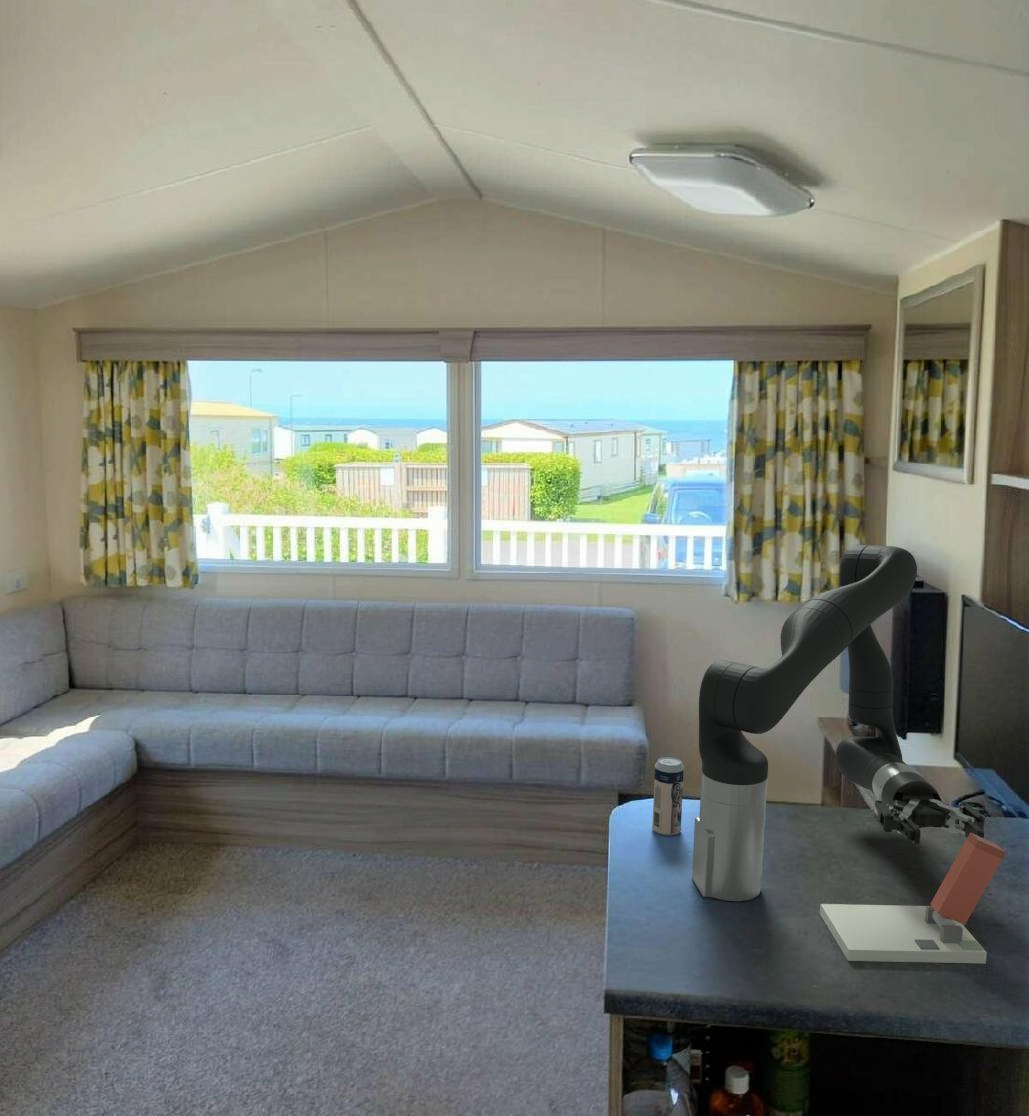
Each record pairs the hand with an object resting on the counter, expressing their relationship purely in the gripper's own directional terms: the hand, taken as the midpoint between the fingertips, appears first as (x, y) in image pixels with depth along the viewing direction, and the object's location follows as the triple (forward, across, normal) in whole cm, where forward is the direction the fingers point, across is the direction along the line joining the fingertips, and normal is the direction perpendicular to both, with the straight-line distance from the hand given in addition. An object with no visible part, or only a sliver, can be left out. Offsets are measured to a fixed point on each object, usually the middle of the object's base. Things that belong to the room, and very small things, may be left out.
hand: (948, 838), depth 141 cm
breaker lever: (+8, -3, +8) cm, 12 cm away
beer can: (-26, -35, +11) cm, 45 cm away
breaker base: (+7, -9, +11) cm, 16 cm away
